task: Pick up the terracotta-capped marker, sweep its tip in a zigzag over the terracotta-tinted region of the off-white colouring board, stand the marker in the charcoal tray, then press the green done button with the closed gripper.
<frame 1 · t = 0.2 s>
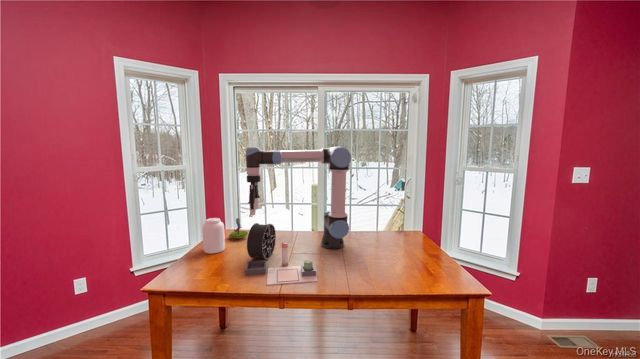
hand: (254, 211, 153), 27 cm above the table, fingers open, 13 cm apart
white jar: (214, 250, 167), on the table
board: (291, 275, 136), on the table
figurine: (238, 238, 189), on the table
button cap: (308, 266, 136), point 4 cm above the table, slide at 0.0 cm
button housing: (308, 270, 137), on the board, point 1 cm above the table
marker: (284, 264, 148), on the table
marker tray: (256, 270, 141), on the table
wheel rim: (262, 257, 157), on the table
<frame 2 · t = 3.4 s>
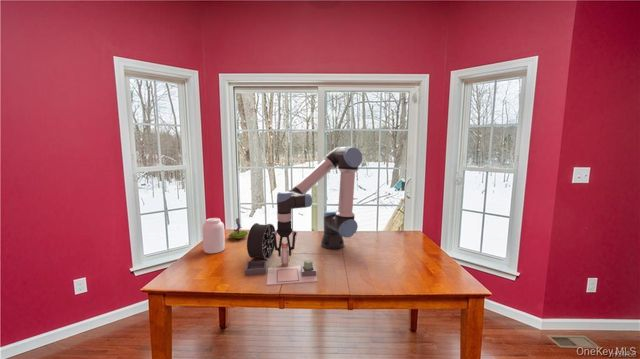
hand: (284, 261, 148), 2 cm above the table, fingers closed on marker, 3 cm apart
marker: (284, 264, 148), on the table, touching gripper
everything else where it was.
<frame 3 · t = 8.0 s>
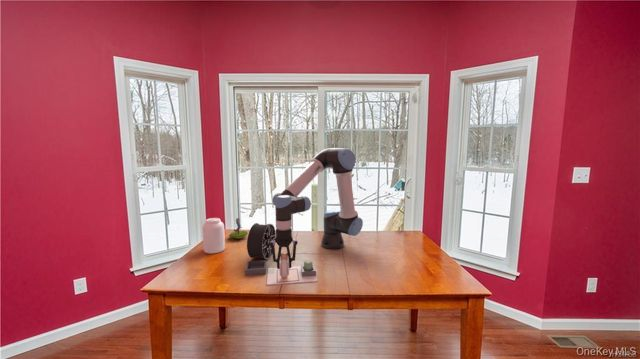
hand: (284, 274, 131), 3 cm above the table, fingers closed on marker, 3 cm apart
marker: (284, 277, 131), point 1 cm above the table, touching gripper
everything else where it was.
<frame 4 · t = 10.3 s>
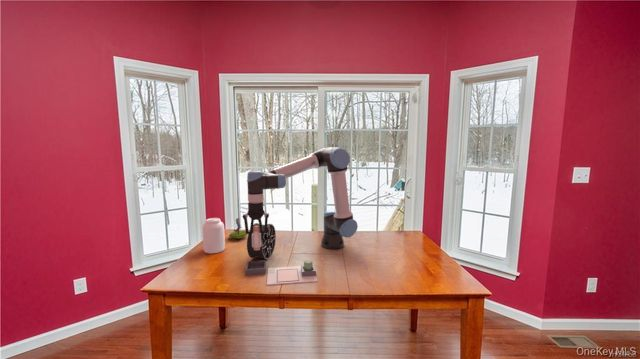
hand: (256, 246, 138), 13 cm above the table, fingers closed on marker, 3 cm apart
marker: (256, 249, 139), point 12 cm above the table, touching gripper
everything else where it was.
when the fingers open (3 cm above the table, at t = 12.6 s): marker stays where it is, resting on marker tray.
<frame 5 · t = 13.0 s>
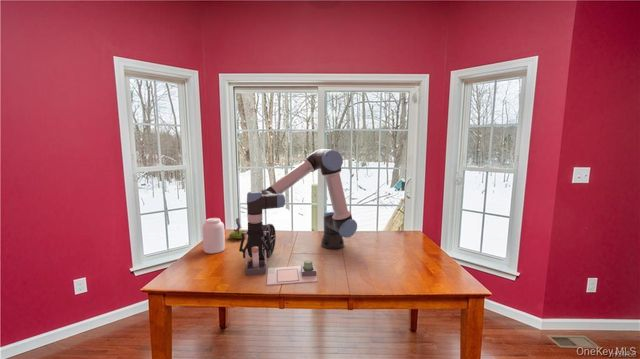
hand: (256, 263, 140), 4 cm above the table, fingers open, 9 cm apart
marker: (256, 269, 140), resting on marker tray
everything else where it was.
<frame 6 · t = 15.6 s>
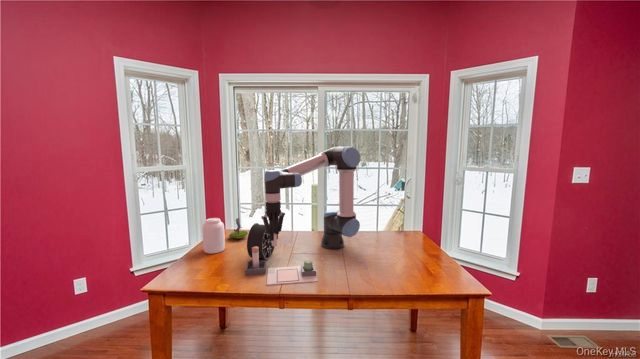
hand: (274, 245, 138), 14 cm above the table, fingers closed
nothing on the table moved.
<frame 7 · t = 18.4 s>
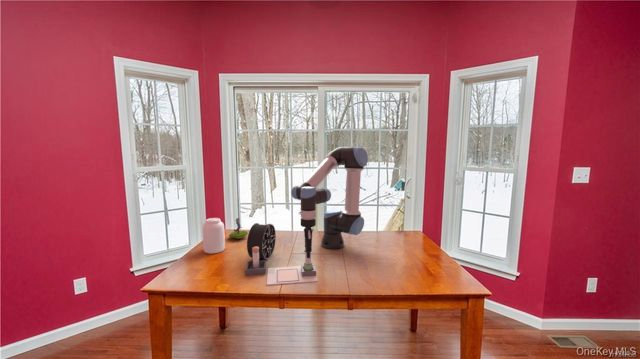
hand: (308, 263, 136), 6 cm above the table, fingers closed
button cap: (308, 267, 136), point 4 cm above the table, slide at -0.7 cm, touching gripper
everything else where it was.
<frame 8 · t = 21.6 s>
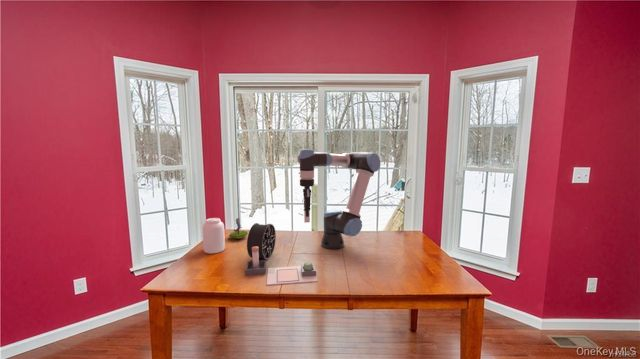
hand: (307, 222, 144), 24 cm above the table, fingers closed
button cap: (308, 268, 136), point 3 cm above the table, slide at -1.0 cm
everything else where it was.
at the end: button cap slide at -1.0 cm; marker 0.1 cm from the marker tray (horizontally); the gripper is holding nothing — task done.
